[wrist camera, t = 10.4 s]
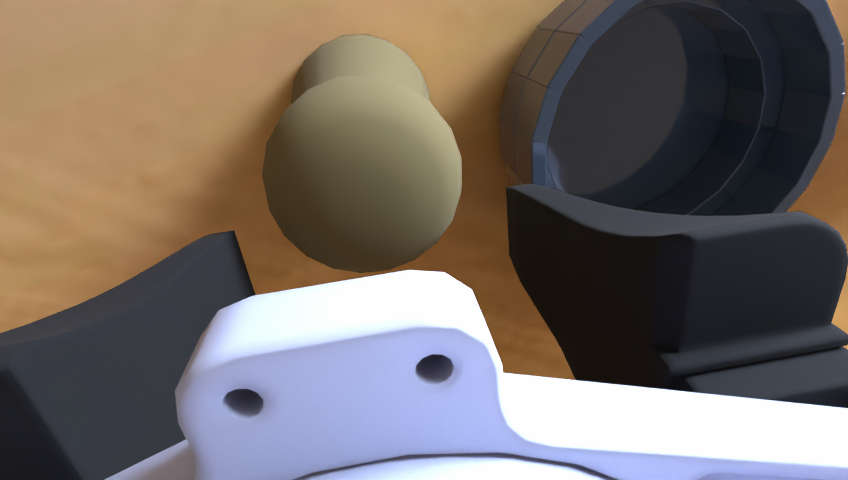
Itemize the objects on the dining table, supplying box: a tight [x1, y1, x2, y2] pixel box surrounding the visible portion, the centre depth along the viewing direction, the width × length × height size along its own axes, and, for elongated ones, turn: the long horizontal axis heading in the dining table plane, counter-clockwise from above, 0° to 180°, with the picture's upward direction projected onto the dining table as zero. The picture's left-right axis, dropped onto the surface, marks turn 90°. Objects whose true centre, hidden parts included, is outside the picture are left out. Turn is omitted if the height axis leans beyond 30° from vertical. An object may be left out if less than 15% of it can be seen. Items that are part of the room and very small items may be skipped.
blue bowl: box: [499, 0, 846, 216], centre depth 21 cm, size 12×12×5 cm
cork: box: [262, 34, 462, 273], centre depth 16 cm, size 6×6×11 cm
